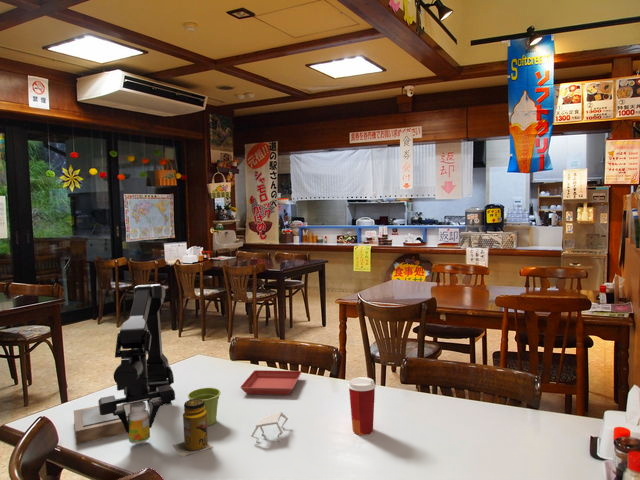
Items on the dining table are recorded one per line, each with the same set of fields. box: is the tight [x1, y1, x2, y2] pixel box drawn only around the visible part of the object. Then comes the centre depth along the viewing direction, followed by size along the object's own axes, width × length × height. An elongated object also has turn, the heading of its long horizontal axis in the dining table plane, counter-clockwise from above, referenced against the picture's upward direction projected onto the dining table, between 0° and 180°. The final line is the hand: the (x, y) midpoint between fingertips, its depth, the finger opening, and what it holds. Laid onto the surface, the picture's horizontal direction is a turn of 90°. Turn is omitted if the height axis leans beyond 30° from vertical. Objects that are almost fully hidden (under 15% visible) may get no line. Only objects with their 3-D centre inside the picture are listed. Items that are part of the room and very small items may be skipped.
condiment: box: [172, 399, 214, 457], centre depth 129 cm, size 7×8×12 cm
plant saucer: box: [240, 369, 302, 396], centre depth 172 cm, size 18×18×3 cm
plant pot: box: [187, 387, 222, 426], centre depth 144 cm, size 9×9×9 cm
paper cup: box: [346, 376, 377, 436], centre depth 135 cm, size 8×8×14 cm
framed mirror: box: [73, 404, 131, 446], centre depth 143 cm, size 16×16×4 cm
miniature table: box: [250, 411, 289, 443], centre depth 135 cm, size 12×8×5 cm
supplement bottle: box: [128, 401, 151, 445], centre depth 132 cm, size 5×5×10 cm
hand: (139, 430), depth 132 cm, fingers closed on supplement bottle, 5 cm apart
